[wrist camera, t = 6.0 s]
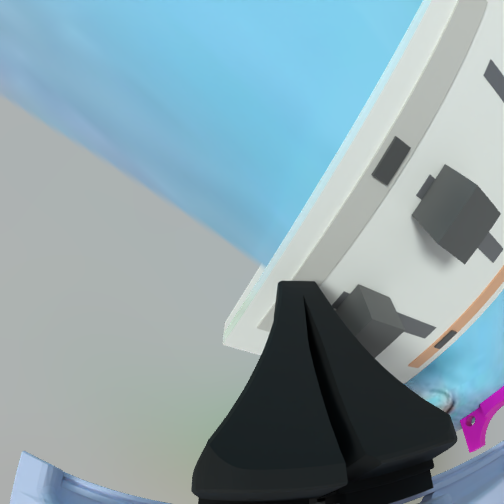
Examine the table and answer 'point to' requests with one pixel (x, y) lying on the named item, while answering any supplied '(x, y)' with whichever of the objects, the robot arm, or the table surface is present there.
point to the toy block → (481, 420)
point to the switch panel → (404, 192)
